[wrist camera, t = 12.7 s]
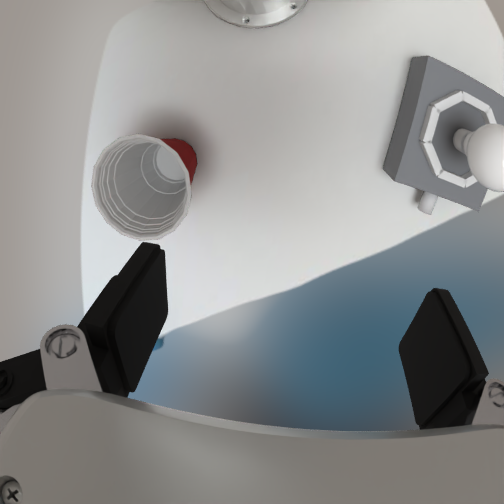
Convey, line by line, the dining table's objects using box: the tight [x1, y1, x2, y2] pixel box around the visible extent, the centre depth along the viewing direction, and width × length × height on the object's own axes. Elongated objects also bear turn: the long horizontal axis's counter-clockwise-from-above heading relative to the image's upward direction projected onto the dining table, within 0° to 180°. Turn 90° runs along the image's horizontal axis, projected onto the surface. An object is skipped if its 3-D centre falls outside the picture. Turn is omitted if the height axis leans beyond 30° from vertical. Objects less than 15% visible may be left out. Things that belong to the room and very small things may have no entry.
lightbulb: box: [453, 123, 504, 192], centre depth 23 cm, size 6×6×11 cm
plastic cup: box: [91, 134, 197, 241], centre depth 33 cm, size 11×11×12 cm
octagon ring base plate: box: [383, 56, 504, 215], centre depth 30 cm, size 18×13×6 cm
